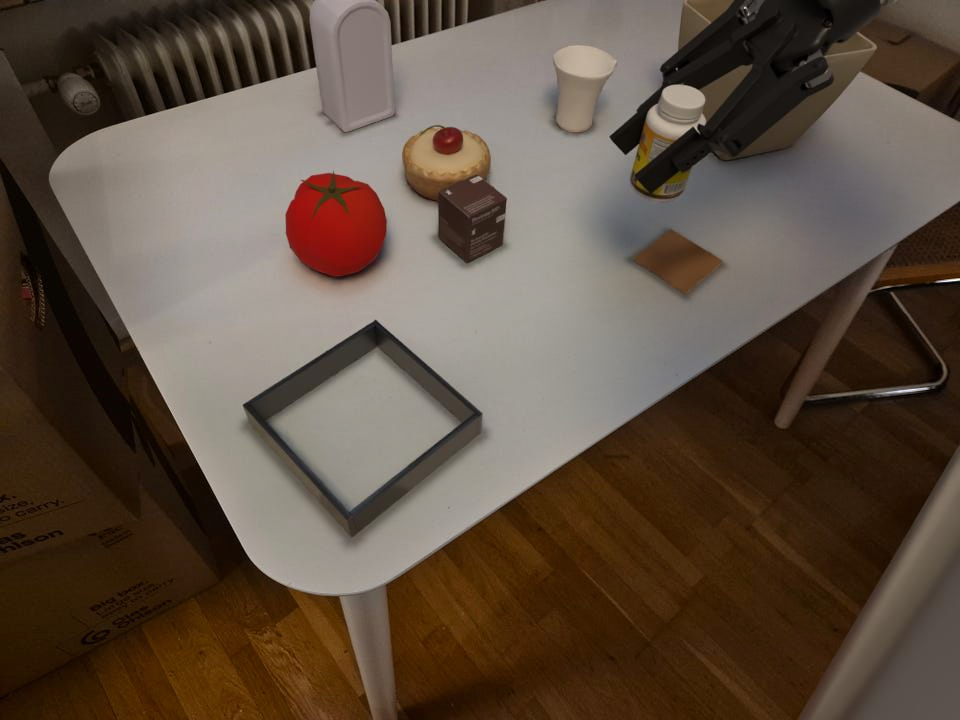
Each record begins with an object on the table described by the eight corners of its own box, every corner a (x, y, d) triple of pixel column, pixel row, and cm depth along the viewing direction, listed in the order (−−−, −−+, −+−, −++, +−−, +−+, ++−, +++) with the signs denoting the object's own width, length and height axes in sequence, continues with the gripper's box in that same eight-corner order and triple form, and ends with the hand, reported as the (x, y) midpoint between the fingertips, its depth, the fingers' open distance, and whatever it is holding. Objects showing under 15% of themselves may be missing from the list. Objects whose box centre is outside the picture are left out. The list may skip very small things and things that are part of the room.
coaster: (721, 264, 84) (723, 260, 84) (685, 294, 80) (687, 291, 80) (669, 232, 87) (671, 228, 87) (633, 260, 84) (634, 256, 83)
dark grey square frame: (480, 432, 67) (483, 413, 64) (351, 537, 59) (347, 521, 57) (378, 340, 73) (375, 319, 71) (250, 424, 66) (242, 404, 63)
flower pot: (823, 156, 100) (882, 45, 87) (717, 180, 95) (763, 66, 82) (748, 91, 111) (790, -17, 97) (649, 109, 106) (680, -2, 92)
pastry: (502, 198, 90) (508, 141, 83) (419, 217, 87) (418, 159, 80) (469, 148, 96) (472, 91, 90) (391, 164, 93) (387, 106, 86)
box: (466, 264, 82) (468, 217, 76) (436, 237, 84) (436, 190, 79) (503, 245, 84) (508, 198, 78) (474, 219, 87) (476, 172, 81)
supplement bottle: (640, 165, 70) (666, 72, 62) (689, 183, 69) (723, 91, 61) (619, 192, 67) (644, 99, 59) (671, 212, 66) (703, 119, 58)
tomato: (282, 239, 83) (264, 163, 74) (371, 218, 86) (364, 142, 77) (308, 305, 76) (292, 230, 67) (403, 279, 79) (399, 205, 71)
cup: (607, 140, 100) (622, 76, 92) (545, 136, 99) (554, 72, 92) (601, 107, 105) (615, 45, 97) (543, 104, 105) (551, 41, 97)
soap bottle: (346, 136, 97) (325, -34, 79) (322, 113, 100) (297, -55, 82) (398, 118, 100) (390, -50, 82) (374, 96, 104) (361, -69, 86)
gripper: (783, -102, 58) (576, 91, 68) (920, -7, 47) (650, 207, 57) (809, -39, 63) (613, 131, 73) (938, 59, 52) (688, 245, 62)
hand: (629, 164), depth 65 cm, fingers closed on supplement bottle, 6 cm apart
